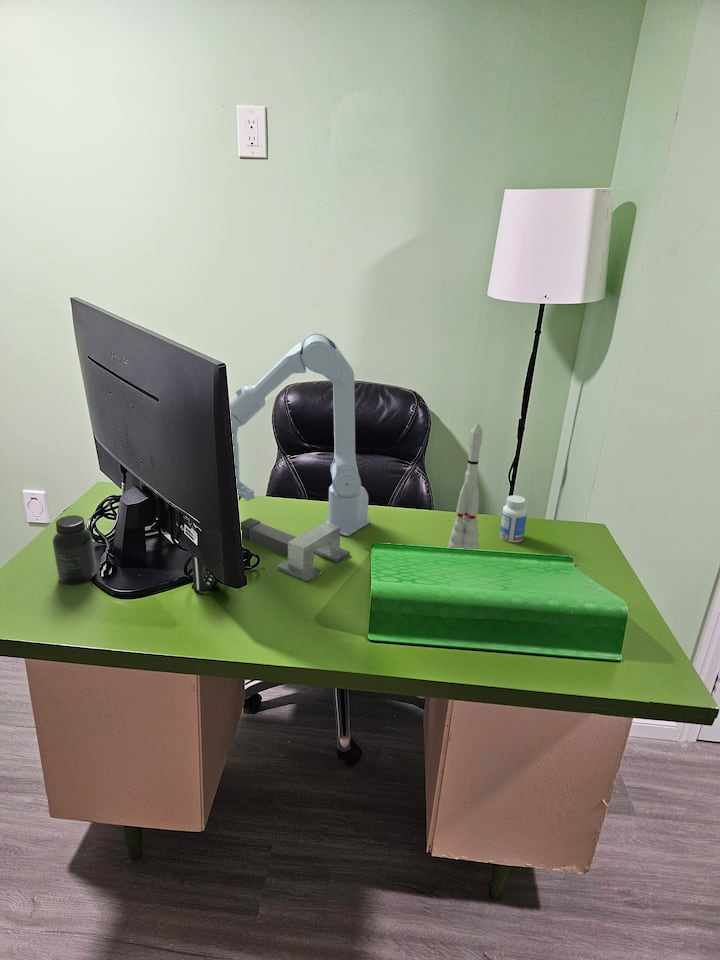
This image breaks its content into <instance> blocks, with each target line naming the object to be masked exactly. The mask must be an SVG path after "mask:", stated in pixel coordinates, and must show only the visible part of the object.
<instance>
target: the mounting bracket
mask: <svg viewBox="0 0 720 960" xmlns="http://www.w3.org/2000/svg"><path fill="white" fill-rule="evenodd" d="M326 521H327V520H325V521H323V522H321V523H320V524H317V525H316V526H314V527H312V528H310V529H309V530H307V531H305V532H303V533H301V534H300V535H298V536H295V537H296V538H294V539H293V540H291V541H289V542H288V556H287V559H286V560H285V561H283V562H281V563H279V564H278V565H277V566H276V570H278V571H280V572H282V571H283V573H285V572H286V573H285V574H287V573H288V574H287V575H289V574H290V576H292V577H294V576H295V577H294V578H296V577H297V578H296V579H299V578H300V579H299V580H301V579H302V580H301V581H303V580H304V581H303V582H305V581H310V580H311V581H312V579H313V578H314V579H316V578H317V577H319V576H320V575H321V574H322V570H321V569H319V568H316V567H315V566H314V563H315V562H314V559H315V558H314V557H315V555H317V556H320V557H322V556H323V558H325V559H327V558H329V559H328V560H330V559H331V560H330V561H332V560H334V561H333V562H335V561H336V562H335V563H337V562H338V563H339V561H340V562H341V561H343V560H345V559H346V558H347V557H349V556H350V554H351V552H350V550H347V549H344V548H342V547H340V546H341V534H340V526H337V525H335V524H332V523H329V522H326ZM342 559H343V560H342ZM320 573H321V574H320ZM319 574H320V575H319ZM318 575H319V576H318ZM316 576H317V577H316ZM315 577H316V578H315ZM314 579H313V580H314ZM311 581H310V582H311Z"/></svg>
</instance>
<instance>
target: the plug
mask: <svg viewBox="0 0 720 960" xmlns="http://www.w3.org/2000/svg"><path fill="white" fill-rule="evenodd" d="M240 523H241V530H242V538H241V539H243V540H245V541H249V542H252V543H254V544H256V545H259V546H261V547H263V548H265V549H268V550H270V551H274V552H275V553H278V554H280V555H283V556H285V557H288V542H289V541H291V540H293V539H294V538H296V537H297V536H295V535H293V534H289V533H287V532H285V531H282V530H280V529H277V528H274V527H272V526H269V525H267V524H264V523H262V522H261V521H260V520H257V519H255V518H252V517H249V518H247V519H244V520H243V521H241V522H240Z"/></svg>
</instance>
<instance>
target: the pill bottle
mask: <svg viewBox="0 0 720 960" xmlns="http://www.w3.org/2000/svg"><path fill="white" fill-rule="evenodd" d="M525 506H526V499H525V497H523V496H521V495H516V494H515V495H509V496H507V498H506V504H505V505H504V506H503V508H502V513H501V519H500V520H501V521H500V527H499V528H500V530H499V537H500V538H501V540H503V541H505V542H508V543H520V542H522V541H523V540H524V536H525V532H526V531H525V530H526V522H527V516H528V510H527V508H526V507H525Z"/></svg>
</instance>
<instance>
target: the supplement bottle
mask: <svg viewBox="0 0 720 960" xmlns="http://www.w3.org/2000/svg"><path fill="white" fill-rule="evenodd" d="M55 526H56V528H55V529H56V533H55V534H54V536H53V538H52V547H53V551H54V552H53V553H54V559H55V564H56V571H57V576H58V579H59V581H60V582H61V583H62V582H63V584H64V583H65V585H68V584H69V585H70V586H76V584H77V585H83V584H85V583H88V582H90V581H92V579H91V574H92V573H93V572H94V571H95V569H97V563H96V555H95V549H94V548H95V547H94V546H95V545H94V540H93V535H92V533H91V532H90V530H88V529H86V524H85V519H84V517H83V516H81V515H76V514H75V515H73V514H72V515H67V516H66V515H65V516H62V517H60V518H59V519H57V520H56V521H55Z"/></svg>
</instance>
